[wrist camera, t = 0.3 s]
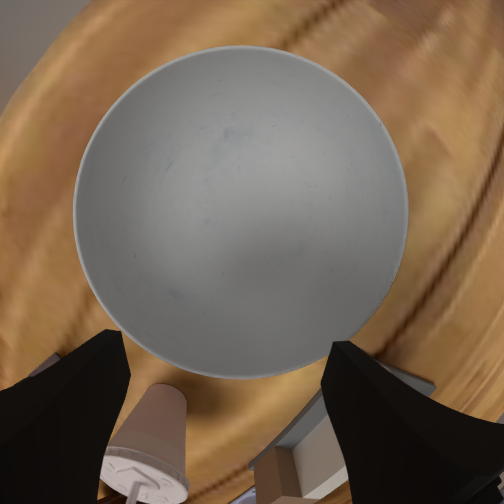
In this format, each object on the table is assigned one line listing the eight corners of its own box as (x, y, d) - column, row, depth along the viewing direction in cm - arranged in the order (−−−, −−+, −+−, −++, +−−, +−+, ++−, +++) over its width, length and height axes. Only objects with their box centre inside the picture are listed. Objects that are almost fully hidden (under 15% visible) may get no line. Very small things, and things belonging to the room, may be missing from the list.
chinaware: (359, 129, 17) (419, 96, 10) (323, 327, 20) (361, 386, 12) (155, 94, 16) (113, 43, 9) (125, 297, 19) (73, 343, 11)
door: (338, 479, 24) (352, 518, 17) (248, 464, 22) (251, 515, 15) (432, 383, 22) (467, 419, 15) (351, 348, 20) (389, 399, 13)
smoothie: (205, 379, 20) (180, 536, 6) (199, 429, 21) (183, 558, 7) (129, 363, 20) (54, 493, 6) (134, 415, 21) (87, 530, 7)
